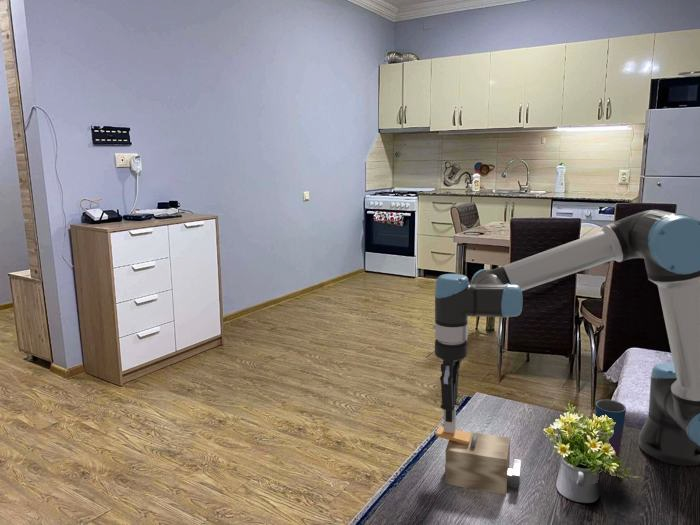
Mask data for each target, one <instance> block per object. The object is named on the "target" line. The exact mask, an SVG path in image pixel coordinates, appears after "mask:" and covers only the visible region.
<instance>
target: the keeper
mask: <svg viewBox="0 0 700 525" xmlns="http://www.w3.org/2000/svg"><path fill="white" fill-rule="evenodd" d="M436 430H437V431H436V432H435V437H438V438H442V439H446V440H448V441H449V440H452V441H456V442H459V443H463V444H467V445H469V442H470V438H471V434H470V433H466V432H463V431H464V430H460V431H459V429H456V431H455V434H453V433H447V432H444V425H438V428H437V429H436ZM477 437H478V435H477V434H473V438H472V441H471V447H475V445H476V441H477Z"/></svg>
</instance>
